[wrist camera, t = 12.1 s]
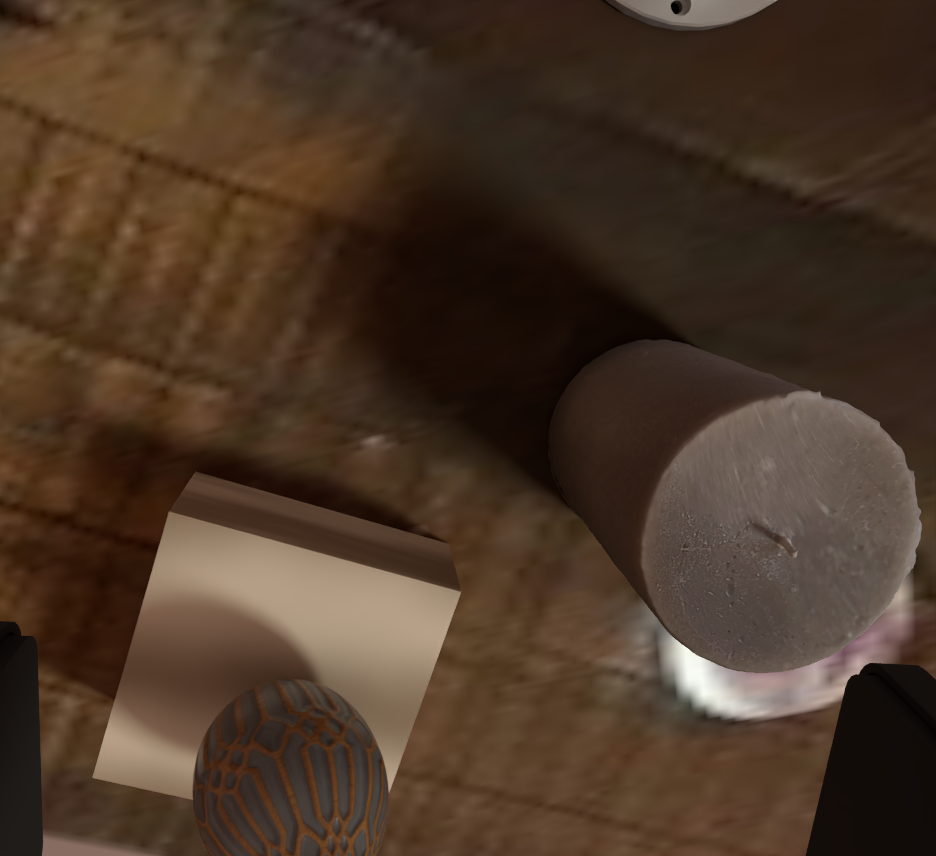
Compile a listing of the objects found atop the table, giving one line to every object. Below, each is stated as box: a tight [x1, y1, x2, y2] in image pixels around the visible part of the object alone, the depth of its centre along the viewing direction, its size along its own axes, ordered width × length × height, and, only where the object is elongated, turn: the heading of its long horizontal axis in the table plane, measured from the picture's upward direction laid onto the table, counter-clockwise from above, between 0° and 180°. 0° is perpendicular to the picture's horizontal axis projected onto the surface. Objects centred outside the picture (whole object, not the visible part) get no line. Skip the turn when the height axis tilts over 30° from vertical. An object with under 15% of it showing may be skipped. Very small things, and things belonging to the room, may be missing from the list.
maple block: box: [93, 472, 461, 800], centre depth 40 cm, size 12×12×6 cm
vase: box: [192, 679, 389, 856], centre depth 32 cm, size 7×7×9 cm
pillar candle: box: [548, 339, 922, 673], centre depth 35 cm, size 10×10×15 cm
